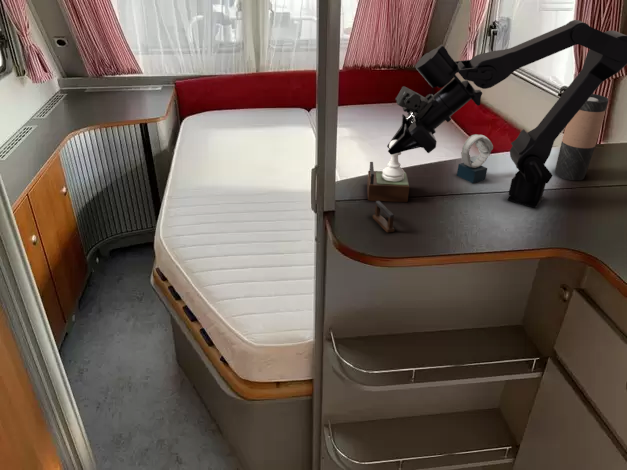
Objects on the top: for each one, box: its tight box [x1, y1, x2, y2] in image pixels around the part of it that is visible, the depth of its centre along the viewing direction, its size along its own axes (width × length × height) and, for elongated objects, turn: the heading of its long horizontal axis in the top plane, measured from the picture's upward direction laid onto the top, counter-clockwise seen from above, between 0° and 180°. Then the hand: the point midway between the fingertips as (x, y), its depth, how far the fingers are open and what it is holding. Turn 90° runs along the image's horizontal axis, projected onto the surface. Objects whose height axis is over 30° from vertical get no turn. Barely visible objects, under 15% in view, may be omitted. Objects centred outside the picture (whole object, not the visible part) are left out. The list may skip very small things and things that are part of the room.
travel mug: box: [554, 93, 609, 181], centre depth 131 cm, size 8×8×20 cm
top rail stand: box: [366, 161, 410, 203], centre depth 122 cm, size 9×8×6 cm
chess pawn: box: [381, 139, 405, 182], centre depth 119 cm, size 5×5×9 cm
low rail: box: [372, 201, 395, 234], centre depth 110 cm, size 7×2×4 cm, turn 21°
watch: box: [456, 133, 494, 184], centre depth 130 cm, size 6×8×11 cm
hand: (388, 150), depth 118 cm, fingers closed on chess pawn, 3 cm apart
